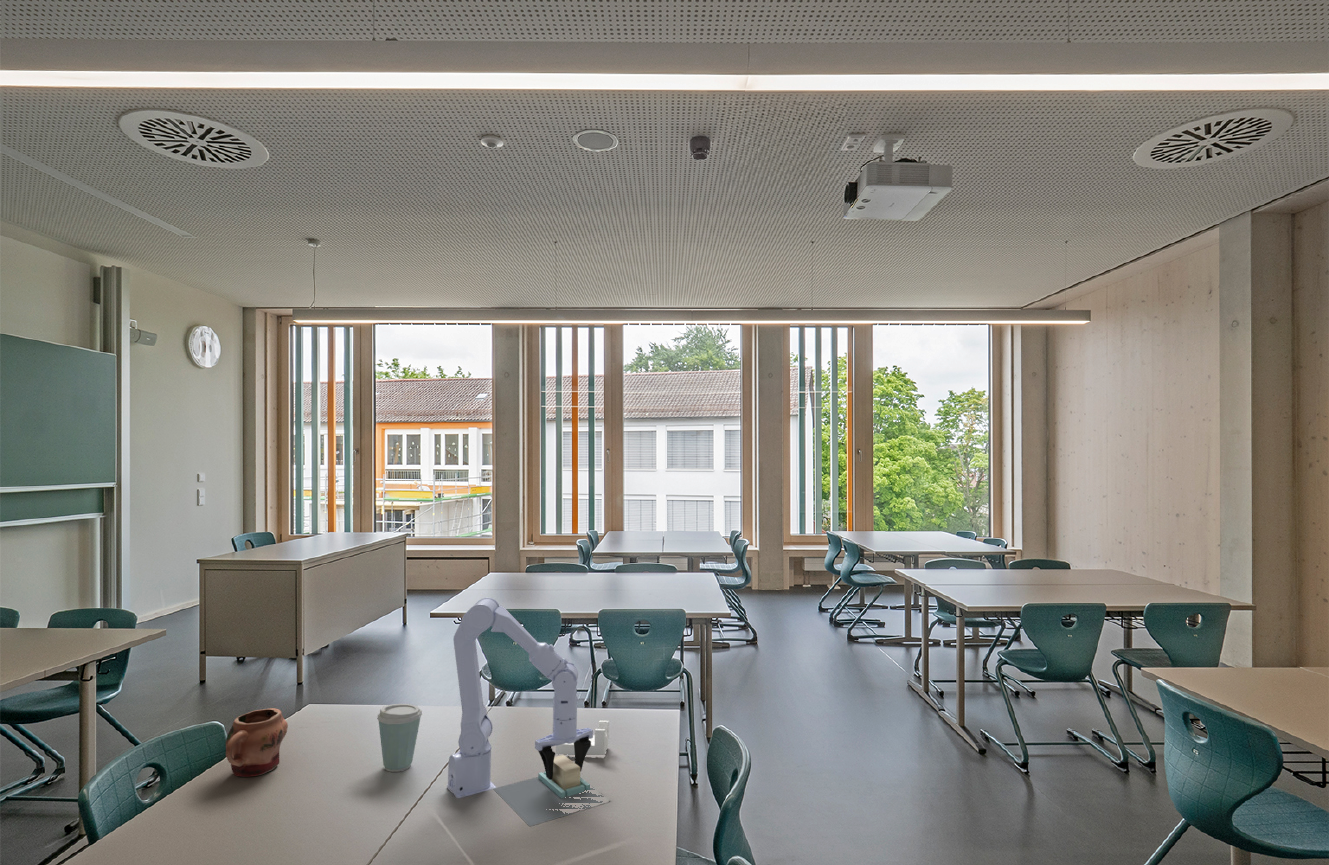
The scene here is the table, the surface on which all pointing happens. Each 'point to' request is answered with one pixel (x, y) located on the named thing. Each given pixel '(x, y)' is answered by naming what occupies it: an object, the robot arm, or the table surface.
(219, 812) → the table surface
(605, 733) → the bracket
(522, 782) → the rubber mat
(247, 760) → the decorative planter
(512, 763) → the table surface
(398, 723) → the disposable coffee cup
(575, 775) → the birch block
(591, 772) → the table surface
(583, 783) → the teal frame
